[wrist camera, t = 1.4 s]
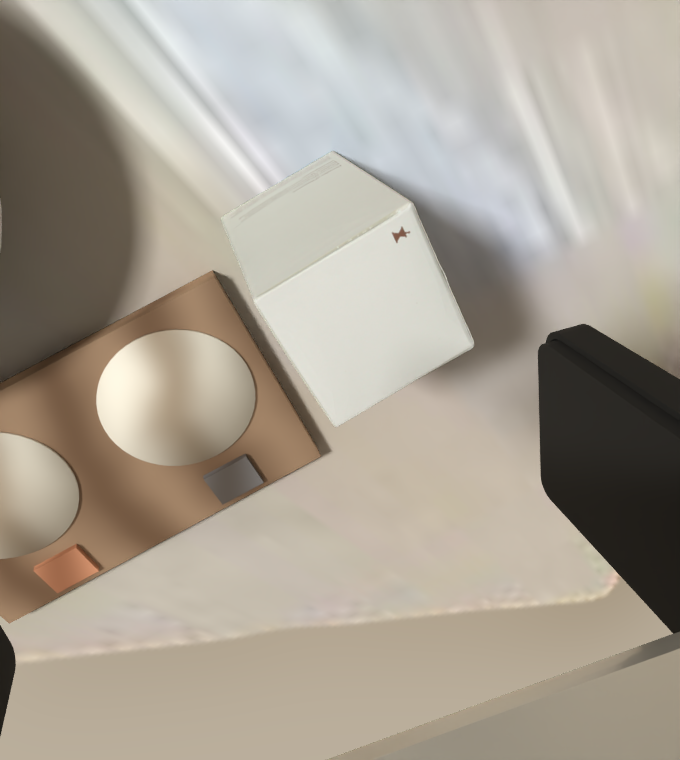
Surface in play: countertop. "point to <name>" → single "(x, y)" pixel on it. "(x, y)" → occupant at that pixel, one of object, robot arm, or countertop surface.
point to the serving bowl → (0, 225)
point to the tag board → (135, 441)
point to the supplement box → (347, 284)
